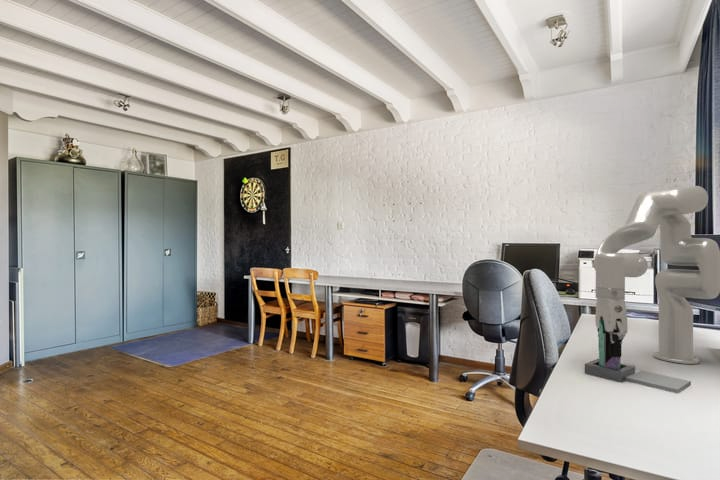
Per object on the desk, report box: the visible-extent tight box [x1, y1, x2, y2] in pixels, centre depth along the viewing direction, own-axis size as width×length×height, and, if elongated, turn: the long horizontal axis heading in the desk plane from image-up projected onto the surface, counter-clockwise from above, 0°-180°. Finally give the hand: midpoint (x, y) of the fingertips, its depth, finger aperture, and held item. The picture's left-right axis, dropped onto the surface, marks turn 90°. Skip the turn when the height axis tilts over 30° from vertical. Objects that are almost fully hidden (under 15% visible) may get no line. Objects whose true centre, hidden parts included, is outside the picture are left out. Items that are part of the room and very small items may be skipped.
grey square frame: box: [584, 358, 636, 384], centre depth 119 cm, size 10×10×3 cm
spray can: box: [598, 316, 622, 370], centre depth 119 cm, size 6×6×20 cm
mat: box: [625, 370, 692, 394], centre depth 113 cm, size 12×12×1 cm
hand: (609, 353), depth 119 cm, fingers closed on spray can, 5 cm apart
